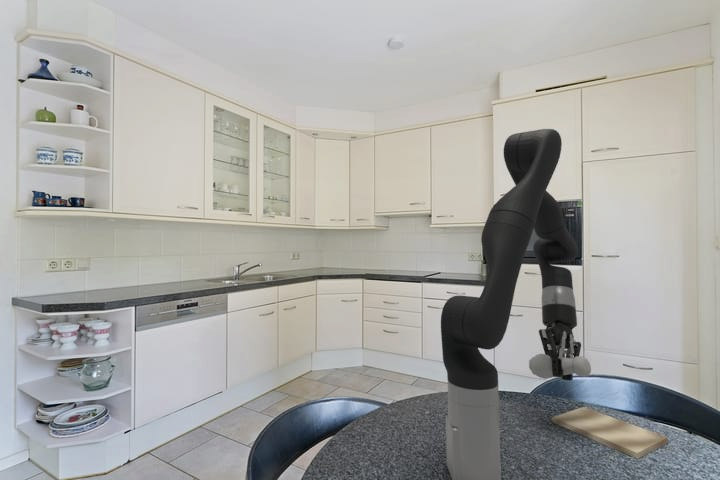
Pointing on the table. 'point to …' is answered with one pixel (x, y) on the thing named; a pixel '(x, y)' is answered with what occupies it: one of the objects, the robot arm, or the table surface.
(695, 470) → the table surface
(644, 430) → the birch board
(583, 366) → the salt shaker
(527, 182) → the robot arm
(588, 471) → the table surface
